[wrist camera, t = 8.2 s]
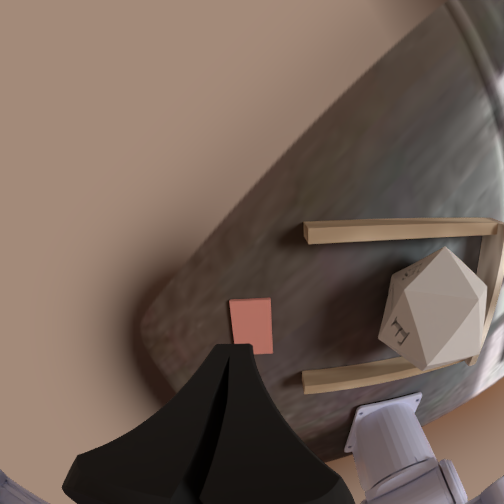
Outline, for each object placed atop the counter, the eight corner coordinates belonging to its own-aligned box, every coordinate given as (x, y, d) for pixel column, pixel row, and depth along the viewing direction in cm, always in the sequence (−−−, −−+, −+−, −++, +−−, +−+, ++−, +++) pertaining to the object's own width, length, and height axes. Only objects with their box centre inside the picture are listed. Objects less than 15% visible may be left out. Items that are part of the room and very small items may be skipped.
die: (411, 215, 19) (392, 294, 13) (499, 254, 15) (515, 347, 9) (382, 290, 24) (349, 372, 18) (457, 322, 20) (444, 410, 14)
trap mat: (272, 351, 22) (272, 353, 22) (236, 352, 22) (235, 354, 22) (270, 297, 20) (270, 299, 20) (229, 299, 21) (229, 301, 20)
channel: (461, 348, 22) (475, 363, 19) (301, 378, 23) (305, 402, 20) (490, 217, 18) (511, 225, 15) (303, 221, 19) (311, 232, 16)
